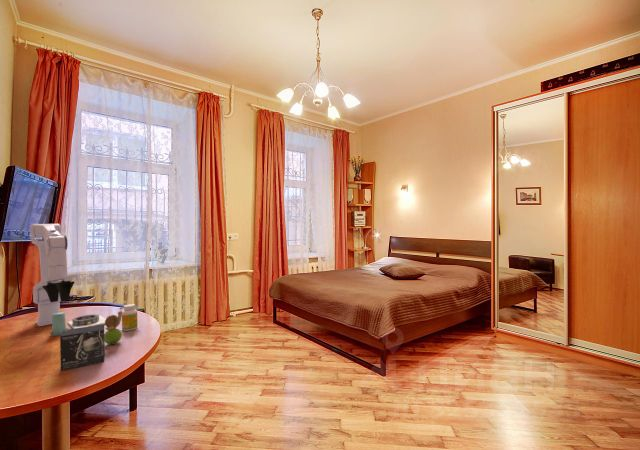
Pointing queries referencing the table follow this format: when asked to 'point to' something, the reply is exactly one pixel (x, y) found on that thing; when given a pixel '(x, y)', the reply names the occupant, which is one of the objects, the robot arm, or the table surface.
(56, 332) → the teal peg
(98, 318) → the collar plate
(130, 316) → the supplement bottle
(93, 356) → the box
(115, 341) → the snail figurine
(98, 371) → the table surface
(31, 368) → the table surface
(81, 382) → the table surface
